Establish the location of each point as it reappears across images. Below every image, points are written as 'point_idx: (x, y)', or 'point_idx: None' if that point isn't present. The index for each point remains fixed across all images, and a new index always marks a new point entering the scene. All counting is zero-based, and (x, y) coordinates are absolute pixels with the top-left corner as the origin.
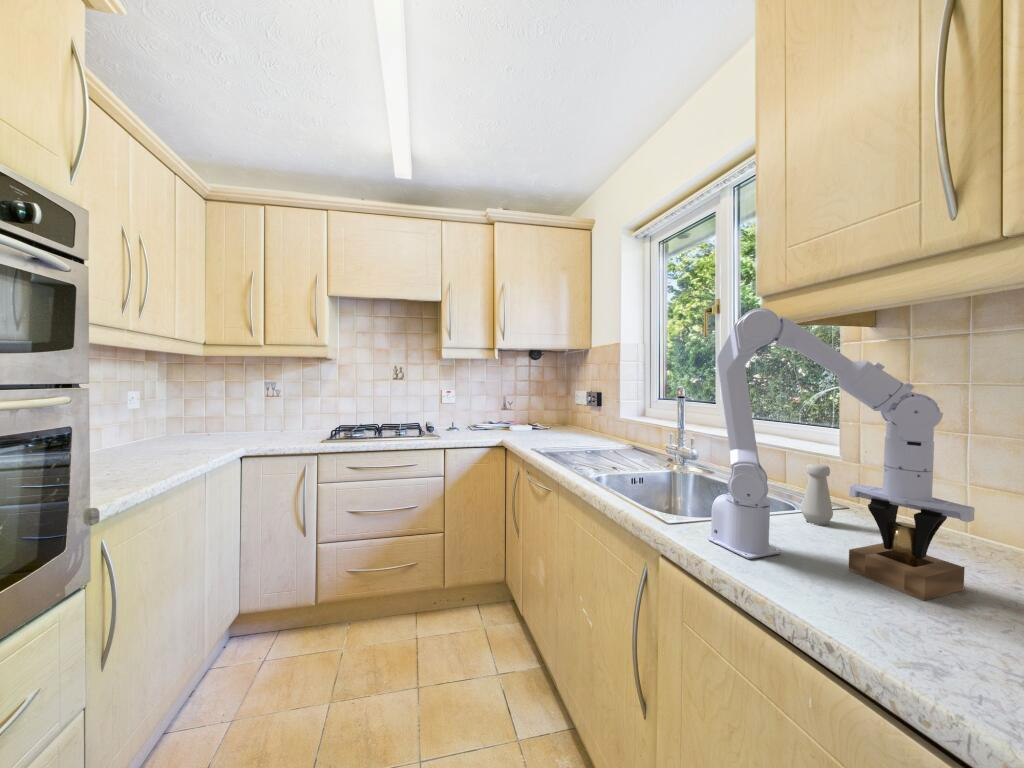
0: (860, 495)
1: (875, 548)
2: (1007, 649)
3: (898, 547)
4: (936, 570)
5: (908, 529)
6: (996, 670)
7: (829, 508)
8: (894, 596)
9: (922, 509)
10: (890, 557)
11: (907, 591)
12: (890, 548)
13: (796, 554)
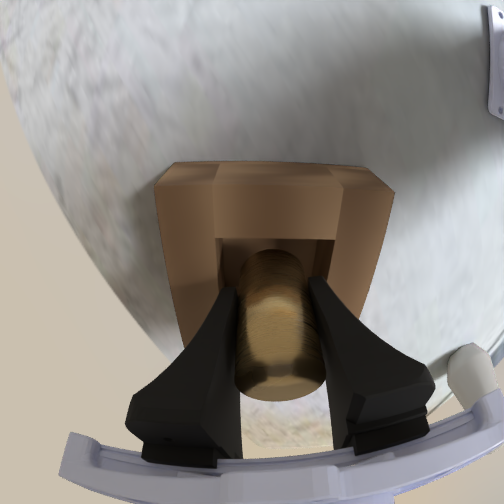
0: (466, 419)
1: (351, 282)
2: (24, 116)
3: (277, 284)
4: (182, 273)
5: (251, 357)
6: (8, 32)
7: (458, 386)
8: (216, 110)
9: (207, 465)
10: None
11: (212, 163)
12: (308, 287)
13: (470, 149)
